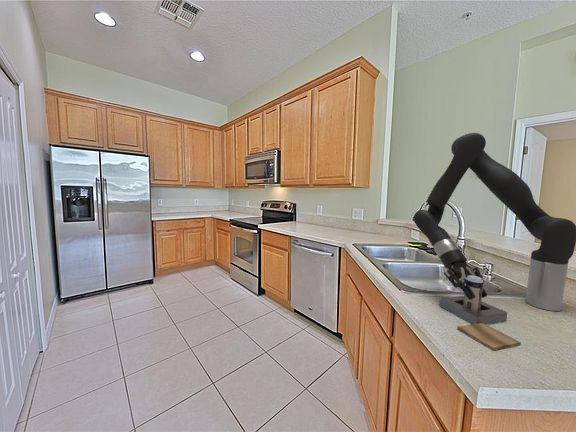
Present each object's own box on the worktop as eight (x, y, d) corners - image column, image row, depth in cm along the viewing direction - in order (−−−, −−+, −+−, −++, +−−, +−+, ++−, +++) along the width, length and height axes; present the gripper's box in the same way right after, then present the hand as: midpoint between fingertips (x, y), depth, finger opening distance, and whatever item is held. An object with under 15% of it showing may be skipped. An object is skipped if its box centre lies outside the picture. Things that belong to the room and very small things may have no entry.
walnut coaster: (482, 325, 74) (482, 322, 74) (520, 345, 64) (520, 342, 64) (457, 329, 71) (457, 326, 71) (493, 350, 62) (493, 347, 62)
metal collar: (467, 302, 89) (467, 295, 89) (506, 321, 76) (507, 312, 76) (439, 306, 86) (440, 298, 85) (476, 326, 73) (477, 316, 73)
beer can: (483, 315, 78) (487, 280, 77) (467, 313, 79) (470, 279, 78) (475, 308, 83) (478, 275, 82) (460, 306, 84) (463, 274, 83)
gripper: (440, 249, 84) (471, 295, 74) (471, 247, 88) (504, 291, 78) (427, 259, 90) (453, 303, 80) (456, 257, 94) (485, 299, 83)
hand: (478, 297), depth 79 cm, fingers closed on beer can, 4 cm apart
